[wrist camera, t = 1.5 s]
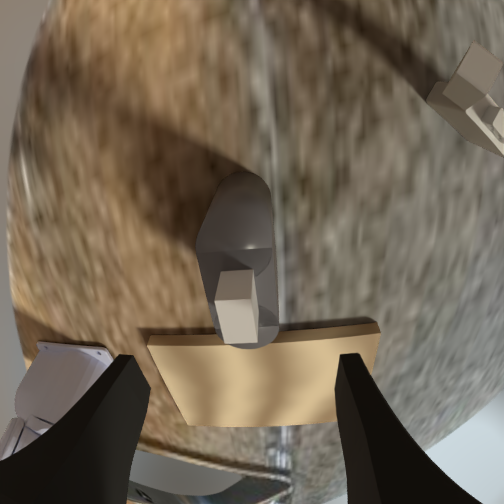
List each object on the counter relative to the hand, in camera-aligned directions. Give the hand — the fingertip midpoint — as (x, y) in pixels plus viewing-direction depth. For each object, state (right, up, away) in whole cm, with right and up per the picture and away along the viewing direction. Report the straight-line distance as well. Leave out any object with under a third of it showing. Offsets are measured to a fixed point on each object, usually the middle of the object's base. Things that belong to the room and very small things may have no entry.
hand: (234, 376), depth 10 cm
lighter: (+11, +13, +4) cm, 18 cm away
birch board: (+2, -7, +17) cm, 18 cm away
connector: (0, +5, +9) cm, 11 cm away
